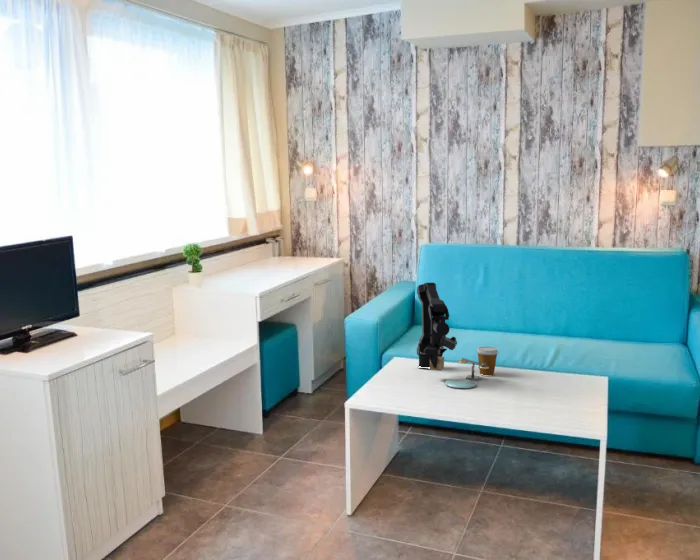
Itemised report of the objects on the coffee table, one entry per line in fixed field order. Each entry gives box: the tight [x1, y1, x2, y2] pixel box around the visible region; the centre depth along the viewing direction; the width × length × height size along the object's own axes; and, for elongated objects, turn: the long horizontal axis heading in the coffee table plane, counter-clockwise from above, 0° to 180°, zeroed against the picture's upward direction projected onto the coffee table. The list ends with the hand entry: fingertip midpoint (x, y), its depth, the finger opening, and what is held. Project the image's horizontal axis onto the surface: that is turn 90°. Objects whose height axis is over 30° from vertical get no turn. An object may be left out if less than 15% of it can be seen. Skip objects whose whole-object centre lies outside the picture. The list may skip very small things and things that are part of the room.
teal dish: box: [445, 378, 477, 389], centre depth 288 cm, size 13×13×1 cm
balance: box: [457, 357, 489, 381], centre depth 298 cm, size 14×5×9 cm, turn 65°
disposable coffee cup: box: [476, 346, 499, 376], centre depth 305 cm, size 10×10×12 cm
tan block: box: [429, 356, 445, 372], centre depth 295 cm, size 5×5×5 cm
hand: (436, 366), depth 295 cm, fingers closed on tan block, 5 cm apart
